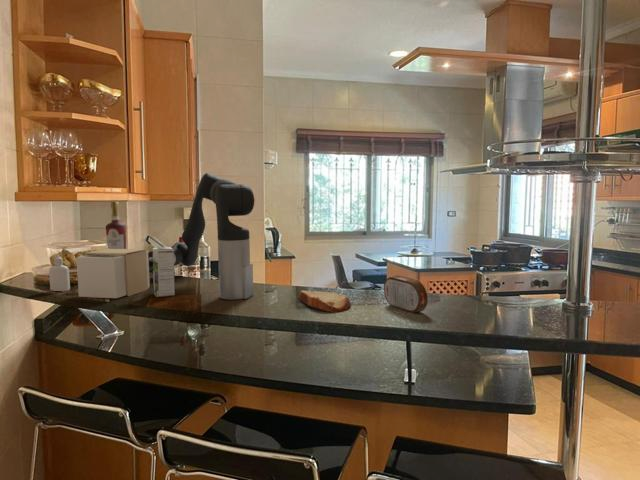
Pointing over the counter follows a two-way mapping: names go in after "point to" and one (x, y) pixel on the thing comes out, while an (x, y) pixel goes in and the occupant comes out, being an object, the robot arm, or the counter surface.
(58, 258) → the eye dropper bottle
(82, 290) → the plain white carton
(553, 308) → the counter surface
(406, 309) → the tin
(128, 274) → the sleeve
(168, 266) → the syrup box
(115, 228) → the liquor
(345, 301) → the slice of bread
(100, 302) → the counter surface
